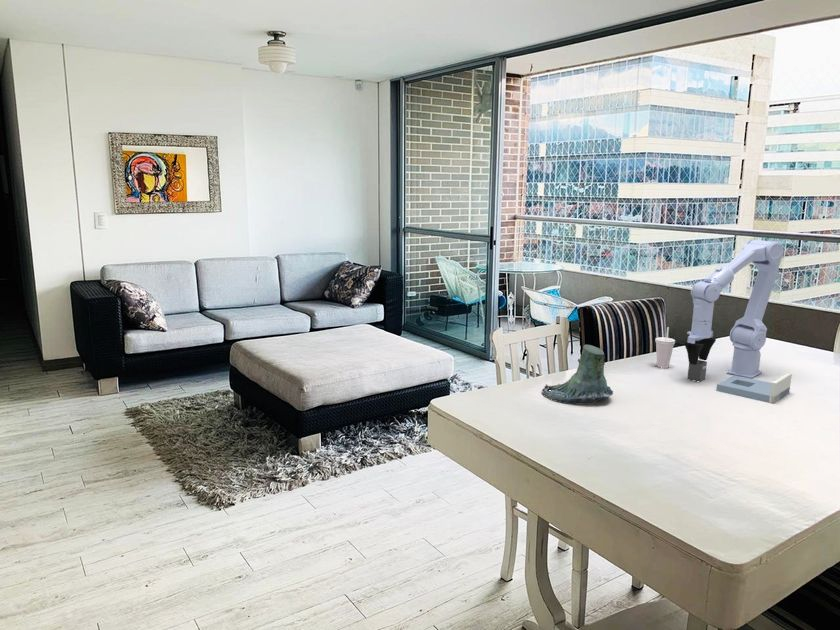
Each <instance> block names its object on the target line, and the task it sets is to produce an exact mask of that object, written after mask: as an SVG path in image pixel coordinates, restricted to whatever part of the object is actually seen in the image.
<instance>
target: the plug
mask: <svg viewBox="0 0 840 630" xmlns="http://www.w3.org/2000/svg"><path fill="white" fill-rule="evenodd" d="M707 365H708V361H707V360H701V359H698V362H697V364H696V365H694V364H689V363H688V371H687V380H688V379H690V380H689V381H692V380H695V381H694V382H697V381H699V382H698V383H701V382H703V381H705V380H706V375H707Z"/></svg>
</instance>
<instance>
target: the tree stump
mask: <svg viewBox="0 0 840 630" xmlns="http://www.w3.org/2000/svg"><path fill="white" fill-rule="evenodd" d="M582 346H583V347H582V350H581V351H582V352H581V355H580V356H579V357H580V358H577V362H578V366H577V370H576V372H575V373H574V374H573V375H571V377H570V378H569V379H568V380H566V382H564V383H558V384H555V385H548V384H545V385H544V386H543V387H544V388H542V389H541V394H542V393H543V394H544V395H545V396H547V397H548V398H547V397H546V398H547V399H549V398H550V399H549V400H551V399H552V400H551V401H553V400H557V401H556V402H558V401H561V402H560V403H564V402H569V403H568V404H576V403H594V404H595V403H597V402H598V401H601V400H604V399H606V398H609V397H611V396H613V395H614V391H613V390H612V389H611V386H608V382H607V379H606V377H605V373H604V372H605V371H604V370H605V363H606V361H605V359H606V357H605V353H604V351H603V349H601V348H599V347H596V346H594V345H591V344H584V345H582ZM549 390H551V391H549ZM543 394H542V395H543ZM544 395H543V396H544ZM545 396H544V397H545Z"/></svg>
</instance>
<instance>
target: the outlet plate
mask: <svg viewBox="0 0 840 630" xmlns="http://www.w3.org/2000/svg"><path fill="white" fill-rule="evenodd" d="M791 382H792V373H789V372H787V373H785V374H784V375H781V376H780V377H778V378H777V379H775V380H773V381H771V382H769V381H765V380H759V379H755V378H748V377H744V376H739V375H734V374H733V375H732V376H730V377H728V378H726V379H724V380H722V381H721V382H718V383H717V384H716V390H715V391H717V392H721V393H725V394H728V395H729V394H730V395H735V396H738V397H743V398H748V399H752V400H756V401H760V402H766V403H770V404H775V403H776V402H778V401H779V400H781V399H783V398H784V397H786V396H787V395H789V394H790V390H791Z"/></svg>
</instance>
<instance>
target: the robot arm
mask: <svg viewBox="0 0 840 630" xmlns="http://www.w3.org/2000/svg"><path fill="white" fill-rule="evenodd" d="M784 251H785V250H784V248H783V246H782V244H781V243H780V242H779V241H778V240H777V241H775V240H774V241H771V240H770V241H769V240H763V239H762V240H761V239H760V240H759V239H755V238H750V239H749V240H748V241H747V242H746V243H744V244H743V245H742V250H741V251H740V252H739V253H738V254H737V255H736V256H734V257H733V259H732V260H731V261H730V262H729V263H728V264H727V265H726V266H718V267H716V268H715V269H714V271H713V272H712V273H711V274H709V276H707V277H706V278H704V280H703V281H697V282H696V283H694V284H693V286H692V289H691V290H690V295H691V298H692V304H693V311H692V319H691V320H692V322H691V330H689V331H687V333H686V334H687V335H689V336H688V337H687V340H684V342H683V345H684V347H685V349H686V353H687V358H688V359H687V360H688V365H689V364H694V365H696V364H697V362H698V360H702V361H707V360H708V357H709V354H710V352H711V349H712V348H713V346H714V344H715V343H716V341H717V339H716V338H714V331H713V330H712V327H713V325H712V324H713V316H714V314H713V313H714V308H715V302H716V301H717V300H718V299H719V297H720V295H721V292H722V291H723V289H725V288H726V287H727V286H728V285H729V284H730V283H732V282H733V281H734V279H735V275H736V274H737V273H738V272H739V271H741V270H742V269H744V268H745V267H746V266H748V265H749V264H750V263H752V264H753V265H754V266H755V267H756V268H757V270H758V271H757V275H756V278H755V281H754V284H753V287H752V291H751V292H750V295H749V298H748V302H747V306H746V309H745V311H744V314H743V317H741V318H739V319H737V320H735V323H734V325H733V326H732V328H731V329H730V333H729V340H730V342H731V343H732V346H733V354H732V355H733V356H732V362H731V369H729V370H727V371H726V374H729V375H733V376H734V375H736V376H741V377H746V378H751V379H754V378H755V377H756V376H758V375H760V374H762V373H763V372H762V371H761V370H760V363H761V351H760V350H762V348H763V347H764V345H765V343H766V341H767V331H768V328H767V326H766V325H765V324H764V322H763V318H764V315H765V312H766V309H767V306H768V302H769V300H770V298H771V294H772V291H773V288H774V285H775V282H776V278H777V275H778V273H779V270H780V269H779V268H780V265H781V261H782V258H783V255H784V253H785V252H784ZM750 327H751V328H750Z"/></svg>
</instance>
